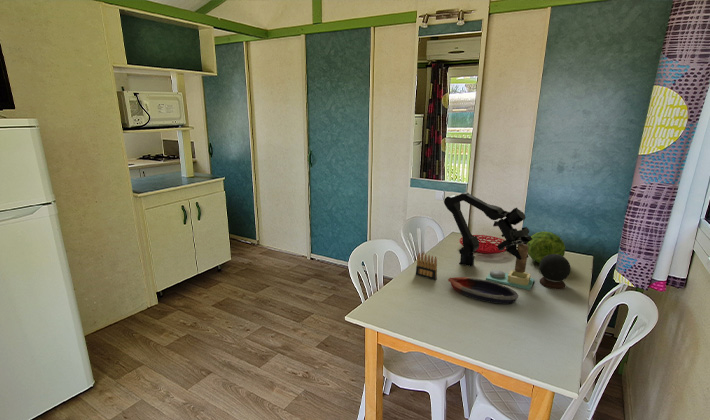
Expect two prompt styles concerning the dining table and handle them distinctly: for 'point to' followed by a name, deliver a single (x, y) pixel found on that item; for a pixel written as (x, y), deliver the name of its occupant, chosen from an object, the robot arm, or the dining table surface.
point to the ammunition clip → (426, 267)
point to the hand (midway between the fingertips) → (524, 258)
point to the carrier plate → (511, 278)
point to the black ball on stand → (554, 271)
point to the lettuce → (545, 245)
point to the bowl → (487, 244)
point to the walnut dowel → (521, 263)
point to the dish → (483, 290)
